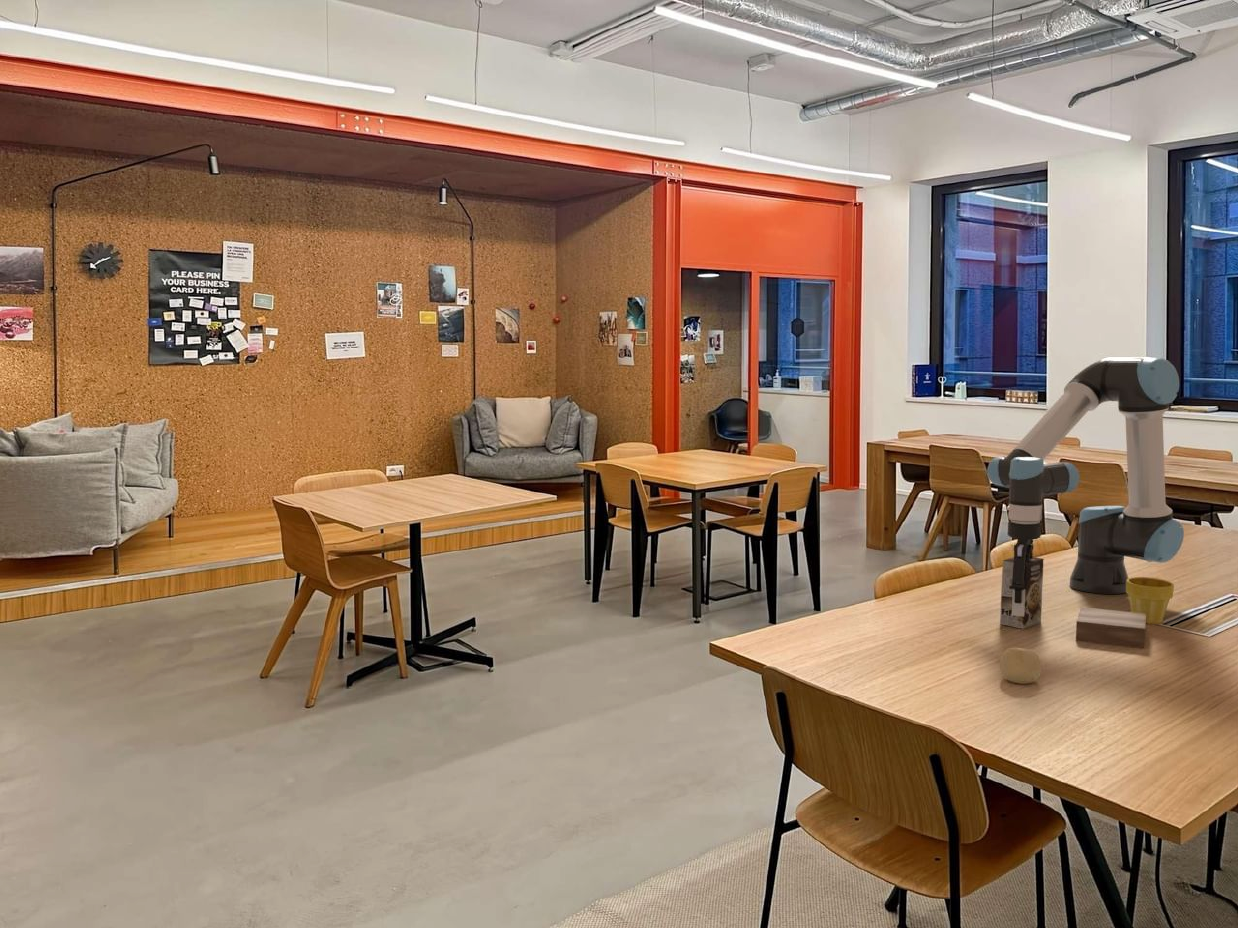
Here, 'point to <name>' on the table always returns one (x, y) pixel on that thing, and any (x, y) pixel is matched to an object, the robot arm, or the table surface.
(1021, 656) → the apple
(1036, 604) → the coffee box
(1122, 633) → the walnut block
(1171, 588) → the plant pot
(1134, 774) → the table surface
